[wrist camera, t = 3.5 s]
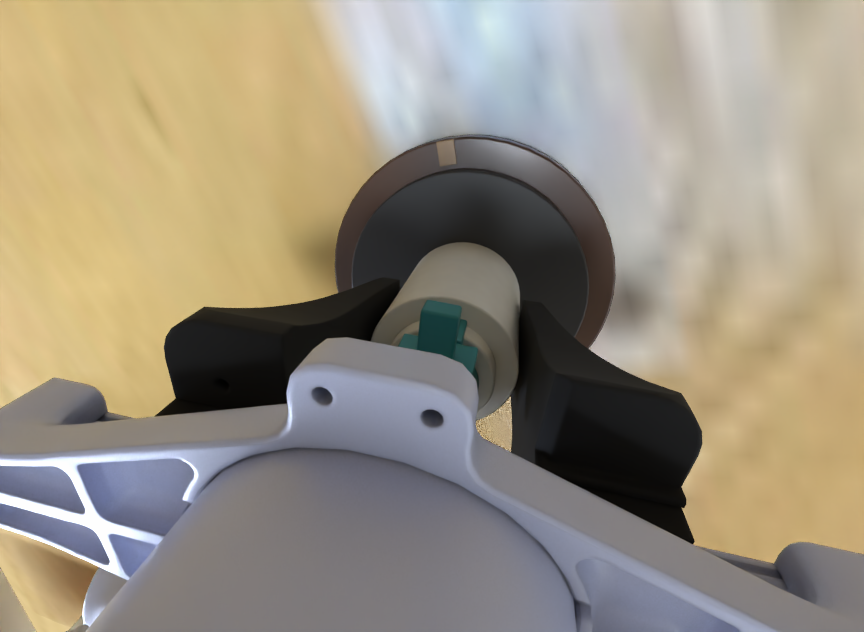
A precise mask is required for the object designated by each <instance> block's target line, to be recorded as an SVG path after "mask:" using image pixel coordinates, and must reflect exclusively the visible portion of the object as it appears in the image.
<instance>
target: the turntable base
mask: <svg viewBox="0 0 864 632" xmlns="http://www.w3.org/2000/svg"><path fill="white" fill-rule="evenodd" d="M455 169H478V170H487V171H492V172H496V173H501V174H504V175H507V176H509V177H512V178H515V179H518V180H520V181H522V182H523V183H525V184H527V185H529V186H531V187H533V188H534V189H536V190H537V191H538V192H540V193H541V194H543V195H544V196H545V197H547V198H548V199H549V200H550V201H551V202H552V203H553V204H554V205H555V206H556V207H557V208H558V209H559V210H560V211H561V212H562V214H563V215H564V216H565V218H566V219H567V220H568V222H569V223H570V225H571V226H572V228H573V230H574V232H575V234H576V235H577V237H578V240H579V242H580V245H581V247H582V250H583V253H584V255H585V259H586V264H587V269H588V277H589V294H588V303H587V307H586V311H585V315H584V318H583V321H582V323H581V326H580V328H579V331H578V332H577V334H576V336H575V337H574V338H575V339H577V340H578V341H579V342H580V343H581V344H582V345H584V346H585V347H586V348H588V349H589V347H590V346H591V345H592V344H593V342H594V341H595V339H596V337H597V336H598V334H599V332H600V331H601V329H602V327H603V325H604V323H605V320H606V318H607V315H608V313H609V310H610V306H611V302H612V299H613V295H614V286H615V257H614V252H613V247H612V241H611V237H610V235H609V232H608V229H607V226H606V224H605V221H604V219H603V217H602V215H601V213H600V211H599V210H598V208H597V206H596V204H595V202H594V201H593V200H592V198H591V197H590V196H589V194H588V193H587V192H586V190H585V189H584V188H583V187H582V185H581V184H580V183H579V181H578V180H577V179H575V178H574V177H573V176H572V175H571V174H570V173H569V172H568V171H567V170H566V169H565V168H564V167H563V166H561V165H560V164H558V163H557V162H556V161H554V160H553V159H552V158H550V157H549V156H547V155H545V154H543V153H541V152H539V151H538V150H536V149H534V148H532V147H530V146H527V145H524V144H521V143H518V142H515V141H513V140H509V139H504V138H499V137H494V136H484V135H462V136H452V137H446V138H442V139H438V140H434V141H430V142H427V143H425V144H422V145H420V146H417V147H415V148H412V149H410V150H407V151H406V152H404V153H402V154H400V155H399V156H397V157H395V158H394V159H392V160H390V161H389V162H387V163H386V164H385V165H384V166H382V167H381V168H380V169H379V170H377V171H376V172H375V173H374V174H373V175H372V176H371V177H370V178H369V179H368V180H367V181H366V183H365V184H364V185H363V186H362V187H361V189H360V190H359V191H358V193H357V194H356V196H355V197H354V199H353V200H352V202H351V204H350V206H349V208H348V210H347V212H346V214H345V216H344V218H343V221H342V224H341V227H340V230H339V233H338V239H337V244H336V250H335V275H336V284H337V289H338V293H340V292H343V291H346V290H349V289H351V288H352V275H351V273H352V262H353V257H354V252H355V248H356V245H357V242H358V239H359V237H360V234H361V232H362V230H363V229H364V227H365V225H366V223H367V221H368V220H369V219H370V217H371V216H372V215H373V213H374V212H375V211H376V209H377V208H378V207H379V206H380V205H381V204H382V203H383V202H384V201H385V200H386V199H387V198H389V197H390V196H391V195H393V194H394V193H395V192H397V191H398V190H400V189H401V188H402V187H404V186H406V185H408V184H409V183H411V182H413V181H415V180H417V179H419V178H422V177H425V176H428V175H430V174H433V173H437V172H442V171H447V170H455ZM510 396H511V395H510Z"/></svg>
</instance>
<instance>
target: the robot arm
mask: <svg viewBox="0 0 864 632" xmlns="http://www.w3.org/2000/svg"><path fill="white" fill-rule="evenodd" d="M399 291H400V280H397V279H391V278H385V277H382V278H378V279H375V280H372V281H369V282H367V283H364V284H362V285H359V286H356V287H354V288H351V289H349V290H346V291H343V292H340V293H337V294H334V295H331V296H328V297H324V298H321V299H317V300H313V301H308V302H304V303H298V304H291V305H283V306H276V307H264V308H215V307H203V308H202V309H200V310H199V311H197V312H196V313H194V314H193V315H191V316H190V317H188V318H186V319H185V320H183V321H182V322H180V323H179V324H177V325H176V326H174V327H173V328H171V330H170V331H169V333H168V334H167V336H166V339H165V345H164V351H165V358H166V363H167V367H168V370H169V374H170V378H171V382H172V385H173V389H174V393H175V397H176V399H175V400H174V401H172V402H171V403H170V404H169V405H168V406H166V407H165V408H164V409H163V410H162V411H160V412H159V413H158V414H157V415H156V416H154V417H146V418H131V417H127V416H123V415H118V414H114V413H109V412H107V406H106V402H105V399H104V397H103V395H102V393H101V392H100V391H99V390H98V389H96V388H95V387H93V386H91V385H87V384H83V383H78V382H74V381H69V380H65V379H60V378H52V379H50V380H49V381H47V382H45V383H43V384H42V385H40V386H38V387H37V388H35V389H33V390H31V391H30V392H28V393H26V394H24V395H23V396H21V397H19V398H17V399H16V400H14V401H12V402H11V403H9V404H7V405H5V406H4V407H2V408H0V527H1V528H4V529H7V530H10V531H13V532H16V533H20V534H23V535H26V536H28V537H31V538H33V539H36V540H39V541H41V542H44V543H46V544H49V545H52V546H54V547H56V548H59V549H61V550H63V551H65V552H68V553H70V554H72V555H74V556H77V557H79V558H81V559H83V560H86V561H88V562H90V563H92V564H94V565H96V566H98V567H99V568H98V569H97V571H96V573H95V575H94V577H93V579H92V581H91V583H90V586H89V588H88V591H87V594H86V597H85V600H84V605H83V623H84V624H82V625H79V626H78V627H76V628H75V629H74V630H73V629H72V630H69V631H66V632H864V555H863V554H860V553H855V552H850V551H846V550H841V549H837V548H832V547H828V546H823V545H818V544H814V543H809V542H797V543H793V544H790V545H788V546H787V547H785V548H784V549H783V550H782V552H781V553H780V554H779V555H778V557H777V559H776V561H775V563H774V564H773V563H769V562H764V561H760V560H756V559H751V558H747V557H742V556H738V555H734V554H729V553H725V552H720V551H716V550H712V549H707V548H703V547H699V546H695V545H693V543H694V542H695V541H694V538H693V536H692V533H691V531H690V528H689V526H688V523H687V521H686V518H685V516H684V513H683V511H682V508H684V507H685V505H686V497H685V495H684V493H683V490H682V488H681V486H682V485H683V483H684V481H685V479H686V477H687V475H688V474H689V472H690V470H691V468H692V466H693V464H694V463H695V461H696V459H697V457H698V455H699V452H700V449H701V446H702V431H701V429H700V426H699V424H698V422H697V420H696V418H695V416H694V414H693V412H692V410H691V409H690V407H689V405H688V403H687V402H686V400H685V398H684V397H683V395H682V394H681V393H679V392H676V391H673V390H670V389H667V388H664V387H661V386H659V385H656V384H653V383H650V382H648V381H645V380H643V379H641V378H638V377H636V376H634V375H632V374H629V373H627V372H625V371H623V370H621V369H619V368H618V367H616V366H614V365H612V364H611V363H609V362H607V361H605V360H604V359H602V358H601V357H599V356H597V355H596V354H595V353H593V352H592V351H590V350H589V349H588V348H586V347H585V346H584V345H582V344H581V343H580V342H579V341H578V340H577V339H575V338H574V337H573V336H572V335H571V334H570V333H569V332H568V331H567V330H566V329H565V328H564V327H563V326H562V325H561V324H560V323H559V322H558V321H557V320H556V318H555V317H554V316H553V315H552V314H551V313H550V311H549V310H548V309H547V308H546V307H545V306H544V304H543V303H540V302H534V301H528V300H523V303H522V308H521V312H520V324H519V373H518V379H517V382H516V385H515V388H514V390H513V392H512V394H511V408H512V447H511V452H509V451H507V450H505V449H503V448H501V447H499V446H497V445H495V444H493V443H491V442H489V441H487V440H485V439H483V438H482V437H481V435H480V434H479V433H478V432H477V429H476V415H477V409H478V402H479V395H478V388H477V381H476V379H475V378H474V377H473V376H472V374H471V373H470V372H469V371H468V370H467V369H466V367H465V366H464V365H463V364H462V363H460V362H457V361H455V360H453V359H450V358H448V357H446V356H443V355H441V354H435V353H430V352H424V351H419V350H414V349H408V348H403V347H397V346H392V345H386V344H381V343H375V342H371V338H372V335H373V332H374V330H375V328H376V326H377V324H378V323H379V321H380V320H381V318H382V317H383V315H384V314H385V312H386V311H387V309H388V308H389V306H390V305H391V303H392V302H393V300H394V299H395V297H396V296H397V294H398V293H399ZM681 507H682V508H681Z"/></svg>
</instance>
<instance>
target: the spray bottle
mask: <svg viewBox="0 0 864 632" xmlns="http://www.w3.org/2000/svg"><path fill="white" fill-rule="evenodd" d="M351 275H352V288H354V287H356V286H359V285H362V284H364V283H367V282H369V281H372V280H375V279H378V278H382V277H385V278H391V279H397V280H400V291H399V293H398V294H397V296H396V297H395V299H394V300H393V302H392V303H391V305H390V306H389V308H388V309H387V311H386V312H385V314H384V315H383V317H382V318H381V320H380V321H379V323H378V324H377V326H376V328H375V330H374V332H373V335H372V338H371V342H375V343H381V344H386V345H392V346H397V347H403V348H408V349H414V350H419V351H424V352H430V353H435V354H441V355H443V356H446V357H448V358H450V359H453V360H455V361H457V362H460V363H462V364H463V365H464V366H465V367H466V369H467V370H468V371H469V372H470V373H471V374H472V376H473V377H474V378H475V379H476V381H477V388H478V395H479V402H478V409H477V415H476V420H479V419H481V418H484V417H486V416H488V415H490V414H492V413H493V412H495V411H496V410H497V409H499V408H500V407H501V406H502V405H503V404H504V403H505V402H506V401H507V399H508V398H509V397H510V395H511V394H512V392H513V390H514V388H515V385H516V382H517V379H518V373H519V324H520V312H521V308H522V303H523V300H528V301H534V302H540V303H543V304H544V306H545V307H546V308H547V309H548V310H549V311H550V313H551V314H552V315H553V316H554V317H555V318H556V320H557V321H558V322H559V323H560V324H561V325H562V326H563V327H564V328H565V329H566V330H567V331H568V332H569V333H570V334H571V335H572V336H573V337H575V336H576V334H577V332H578V331H579V328H580V326H581V323H582V321H583V318H584V315H585V311H586V307H587V303H588V294H589V277H588V269H587V264H586V259H585V255H584V253H583V250H582V247H581V245H580V242H579V240H578V237H577V235H576V234H575V232H574V230H573V228H572V226H571V225H570V223H569V222H568V220H567V219H566V218H565V216H564V215H563V214H562V212H561V211H560V210H559V209H558V208H557V207H556V206H555V205H554V204H553V203H552V202H551V201H550V200H549V199H548V198H547V197H545V196H544V195H543V194H541V193H540V192H538V191H537V190H536V189H534V188H533V187H531V186H529V185H527V184H525V183H523V182H522V181H520V180H518V179H515V178H512V177H509V176H507V175H504V174H501V173H496V172H492V171H487V170H478V169H455V170H447V171H442V172H437V173H433V174H430V175H428V176H425V177H422V178H419V179H417V180H415V181H413V182H411V183H409V184H408V185H406V186H404V187H402V188H401V189H400V190H398V191H397V192H395V193H394V194H393V195H391V196H390V197H389V198H387V199H386V200H385V201H384V202H383V203H382V204H381V205H380V206H379V207H378V208H377V209H376V211H375V212H374V213H373V215H372V216H371V217H370V219H369V220H368V221H367V223H366V225H365V227H364V229H363V230H362V232H361V234H360V237H359V239H358V242H357V245H356V248H355V252H354V257H353V262H352V273H351Z"/></svg>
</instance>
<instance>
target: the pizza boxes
mask: <svg viewBox="0 0 864 632" xmlns="http://www.w3.org/2000/svg"><path fill="white" fill-rule="evenodd" d="M82 624H84V623H83V615H82V616H81V617H80V618H79V619H78V620H77V621H76V623H75V624H74V625H73V626H72V627H71V628H70V629H69V630H72V629H73V630H74V629H75V628H76V627H78V626H79V625H82ZM0 632H37V631H36V629H35V628H34V626H33V624H32V622H31V621H30V619H29V617H28V615H27V613H26V612H25V610H24V608H23V606H22V605H21V603H20V601H19V599H18V598H17V596H16V594H15V592H14V590H13V589H12V587H11V585H10V583H9V582H8V580H7V578H6V576H5V575H4V573H3V571H2V569H1V568H0Z"/></svg>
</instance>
